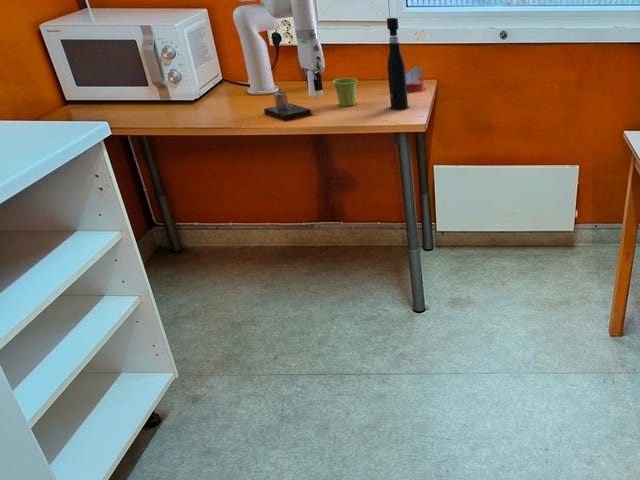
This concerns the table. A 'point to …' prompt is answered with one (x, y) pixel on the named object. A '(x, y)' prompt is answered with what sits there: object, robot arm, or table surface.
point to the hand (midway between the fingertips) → (315, 88)
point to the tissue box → (414, 80)
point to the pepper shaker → (311, 85)
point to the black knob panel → (288, 112)
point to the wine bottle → (396, 69)
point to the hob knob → (281, 100)
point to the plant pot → (346, 91)
